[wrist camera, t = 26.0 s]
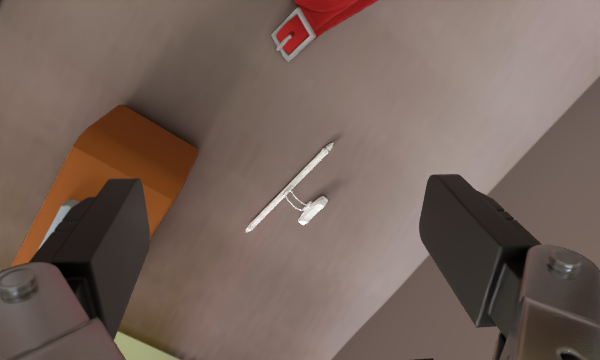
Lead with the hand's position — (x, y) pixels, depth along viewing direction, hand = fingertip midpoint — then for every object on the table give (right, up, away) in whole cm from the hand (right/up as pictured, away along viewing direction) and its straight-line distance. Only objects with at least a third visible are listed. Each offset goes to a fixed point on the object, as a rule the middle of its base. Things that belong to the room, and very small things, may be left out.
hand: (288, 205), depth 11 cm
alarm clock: (-20, -3, +32) cm, 38 cm away
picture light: (0, -1, +33) cm, 33 cm away
